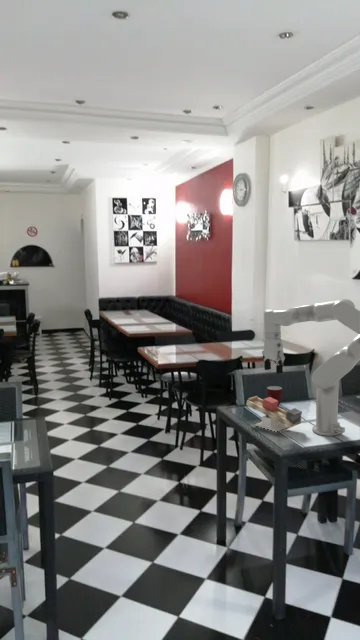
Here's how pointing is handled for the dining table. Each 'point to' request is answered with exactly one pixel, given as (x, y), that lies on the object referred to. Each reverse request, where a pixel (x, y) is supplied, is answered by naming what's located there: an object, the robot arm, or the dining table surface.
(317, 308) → the robot arm
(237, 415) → the dining table surface
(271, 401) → the block
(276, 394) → the mug
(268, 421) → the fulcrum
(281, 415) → the beam
